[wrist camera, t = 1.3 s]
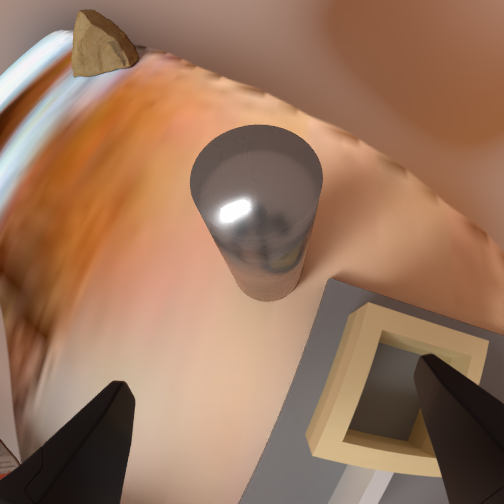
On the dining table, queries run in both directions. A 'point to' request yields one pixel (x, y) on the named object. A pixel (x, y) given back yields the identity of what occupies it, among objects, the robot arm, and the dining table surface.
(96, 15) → the rock
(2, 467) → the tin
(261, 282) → the hinge pin
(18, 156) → the dining table surface
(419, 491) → the grey plate with frame
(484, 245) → the dining table surface
